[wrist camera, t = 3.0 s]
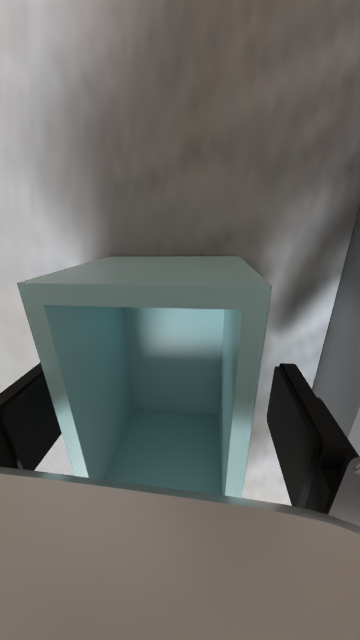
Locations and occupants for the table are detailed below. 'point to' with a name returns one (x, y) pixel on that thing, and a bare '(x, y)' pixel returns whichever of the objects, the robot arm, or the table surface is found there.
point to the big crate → (344, 349)
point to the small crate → (153, 366)
